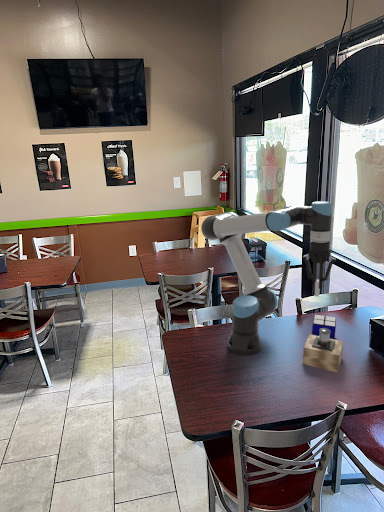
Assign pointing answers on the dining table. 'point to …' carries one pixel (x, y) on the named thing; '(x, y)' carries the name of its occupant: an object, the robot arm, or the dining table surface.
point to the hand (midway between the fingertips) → (316, 295)
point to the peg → (324, 337)
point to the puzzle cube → (324, 325)
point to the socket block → (322, 354)
